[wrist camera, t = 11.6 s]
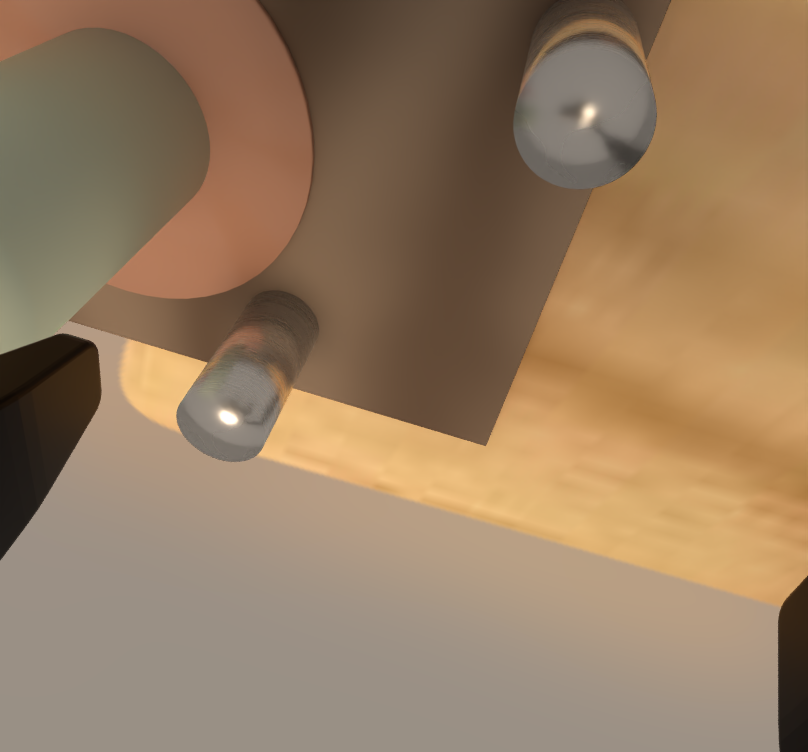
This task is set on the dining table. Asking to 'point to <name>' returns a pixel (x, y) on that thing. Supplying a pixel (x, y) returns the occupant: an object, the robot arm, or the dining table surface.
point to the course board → (349, 191)
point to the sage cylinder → (87, 170)
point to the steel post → (540, 149)
